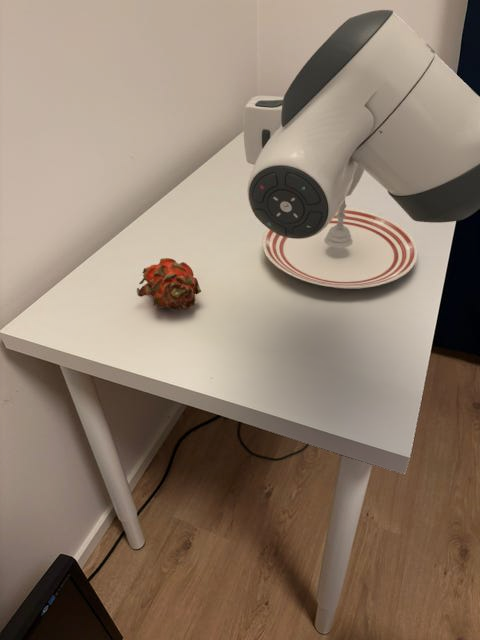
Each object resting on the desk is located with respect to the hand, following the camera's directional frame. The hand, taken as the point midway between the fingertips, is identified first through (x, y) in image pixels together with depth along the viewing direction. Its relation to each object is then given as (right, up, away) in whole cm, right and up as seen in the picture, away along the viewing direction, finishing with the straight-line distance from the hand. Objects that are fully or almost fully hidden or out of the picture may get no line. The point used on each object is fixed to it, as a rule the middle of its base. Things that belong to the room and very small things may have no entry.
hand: (342, 103), depth 61 cm
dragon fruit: (-24, -25, +19) cm, 40 cm away
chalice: (+5, -13, +26) cm, 29 cm away
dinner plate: (+5, -16, +28) cm, 32 cm away
